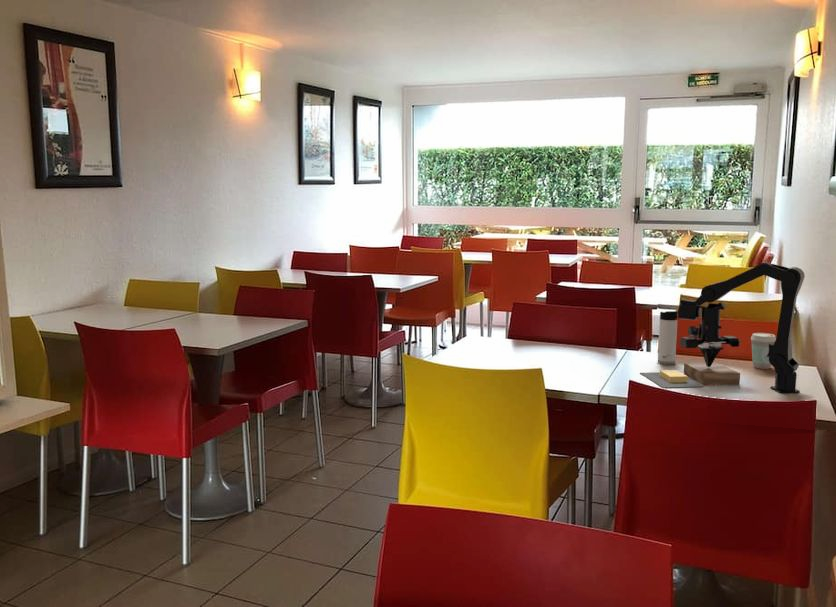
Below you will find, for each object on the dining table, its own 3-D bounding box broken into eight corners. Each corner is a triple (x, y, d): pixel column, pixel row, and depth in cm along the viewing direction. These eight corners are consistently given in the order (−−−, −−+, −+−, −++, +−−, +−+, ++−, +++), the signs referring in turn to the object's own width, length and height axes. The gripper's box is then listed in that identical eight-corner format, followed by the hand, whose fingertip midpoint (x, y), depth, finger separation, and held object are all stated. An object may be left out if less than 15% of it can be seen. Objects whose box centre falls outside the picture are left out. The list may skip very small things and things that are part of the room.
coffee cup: (758, 370, 267) (760, 337, 265) (743, 364, 275) (745, 333, 273) (779, 369, 269) (782, 336, 267) (764, 363, 277) (766, 332, 275)
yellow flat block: (670, 376, 248) (669, 382, 249) (687, 376, 249) (687, 382, 249) (659, 370, 257) (659, 375, 258) (676, 370, 258) (676, 375, 258)
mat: (704, 387, 244) (704, 386, 244) (662, 388, 243) (663, 387, 242) (678, 372, 263) (678, 371, 263) (640, 373, 262) (640, 372, 262)
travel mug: (665, 365, 274) (668, 312, 271) (654, 361, 280) (656, 309, 277) (679, 364, 276) (682, 311, 273) (667, 360, 282) (670, 308, 279)
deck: (739, 384, 247) (740, 373, 246) (704, 385, 246) (705, 373, 245) (716, 373, 262) (717, 362, 262) (683, 374, 261) (684, 362, 261)
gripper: (725, 317, 260) (723, 360, 262) (673, 318, 258) (671, 362, 260) (741, 322, 249) (739, 367, 251) (687, 323, 247) (686, 369, 249)
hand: (708, 366), depth 253 cm, fingers closed
